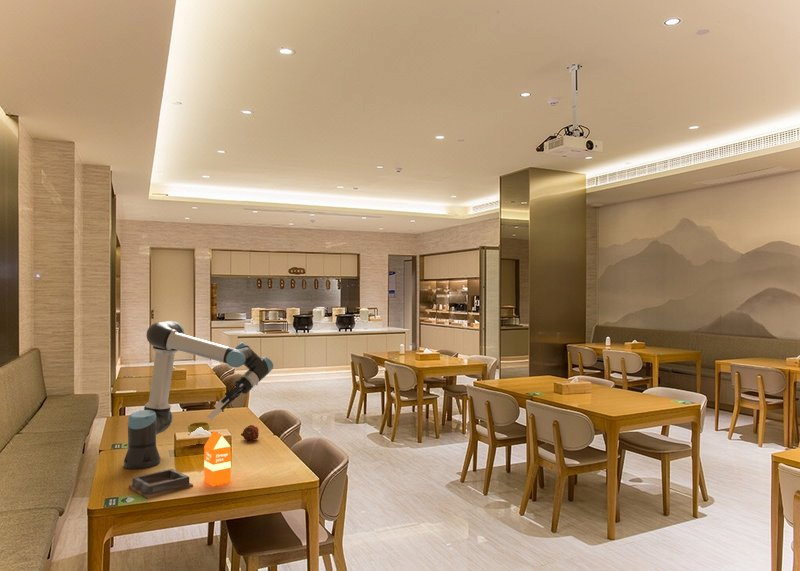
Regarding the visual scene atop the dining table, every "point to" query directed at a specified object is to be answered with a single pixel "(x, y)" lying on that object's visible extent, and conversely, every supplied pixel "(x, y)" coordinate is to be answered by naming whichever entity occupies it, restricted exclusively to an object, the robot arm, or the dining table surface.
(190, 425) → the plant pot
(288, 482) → the dining table surface
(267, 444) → the dining table surface
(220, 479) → the orange juice
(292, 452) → the dining table surface
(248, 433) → the brown bumpy lump
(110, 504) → the dining table surface
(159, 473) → the tray
